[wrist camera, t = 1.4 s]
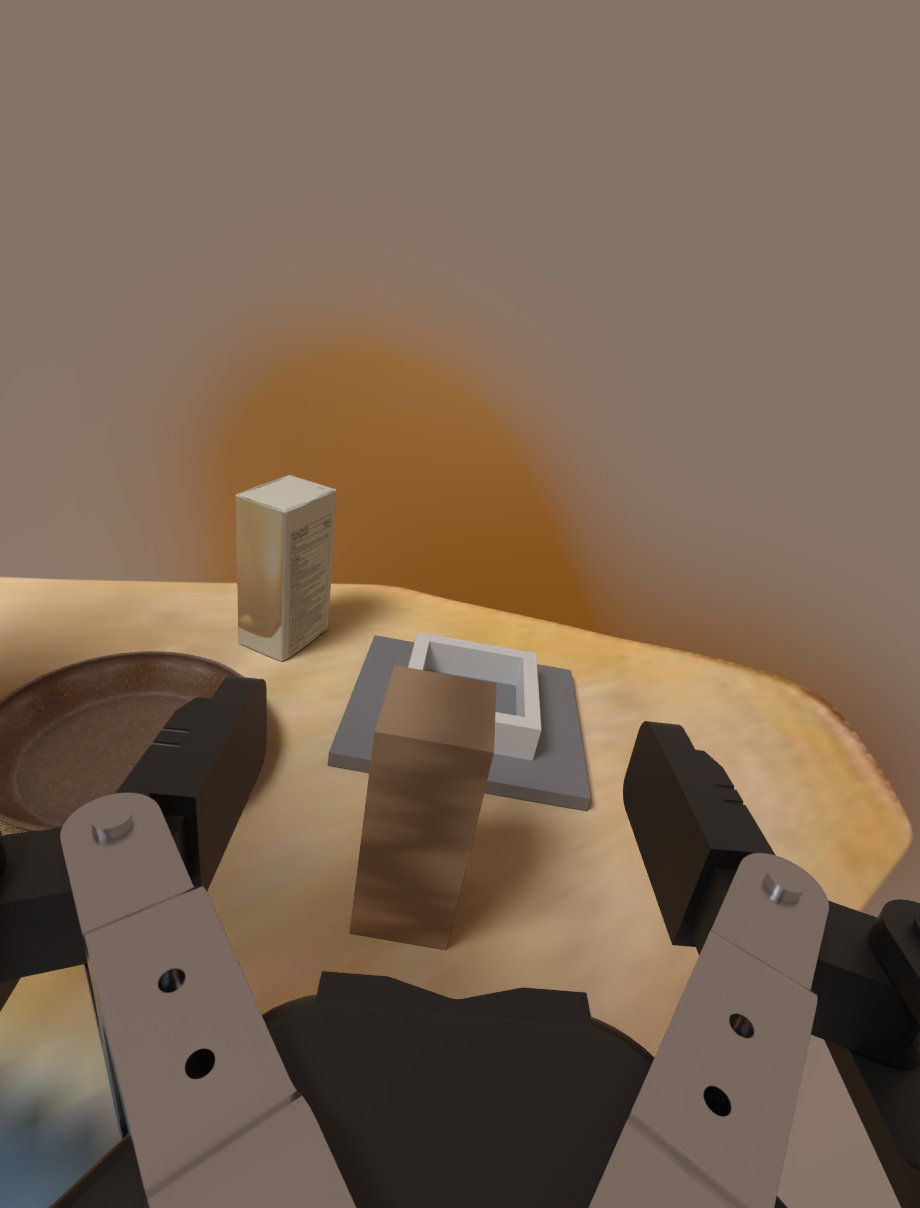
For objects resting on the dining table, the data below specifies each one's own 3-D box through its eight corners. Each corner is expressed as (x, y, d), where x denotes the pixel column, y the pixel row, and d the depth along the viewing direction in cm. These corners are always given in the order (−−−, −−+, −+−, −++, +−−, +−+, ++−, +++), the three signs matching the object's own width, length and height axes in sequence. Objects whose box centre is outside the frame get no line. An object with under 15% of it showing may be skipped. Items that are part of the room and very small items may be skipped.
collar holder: (327, 765, 37) (331, 720, 36) (373, 645, 50) (377, 608, 48) (586, 810, 38) (602, 767, 36) (568, 680, 50) (578, 644, 48)
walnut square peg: (349, 933, 28) (374, 731, 23) (369, 853, 32) (394, 665, 27) (445, 950, 28) (494, 752, 23) (453, 868, 32) (496, 683, 27)
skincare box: (286, 612, 52) (291, 472, 47) (330, 629, 51) (340, 487, 45) (233, 645, 47) (231, 491, 41) (280, 665, 46) (285, 509, 40)
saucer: (-9, 925, 26) (-22, 883, 25) (-44, 725, 36) (-55, 688, 35) (307, 795, 36) (310, 759, 34) (213, 663, 45) (212, 631, 44)
